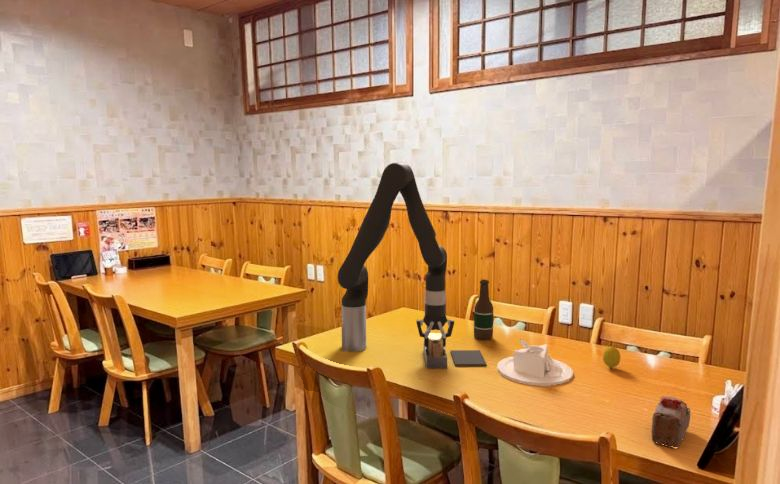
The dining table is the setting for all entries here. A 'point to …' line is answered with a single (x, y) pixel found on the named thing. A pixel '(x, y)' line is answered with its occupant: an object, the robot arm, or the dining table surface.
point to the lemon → (611, 357)
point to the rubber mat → (467, 358)
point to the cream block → (434, 341)
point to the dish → (534, 367)
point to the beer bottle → (483, 314)
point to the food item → (670, 421)
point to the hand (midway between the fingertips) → (434, 347)
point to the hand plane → (435, 357)
